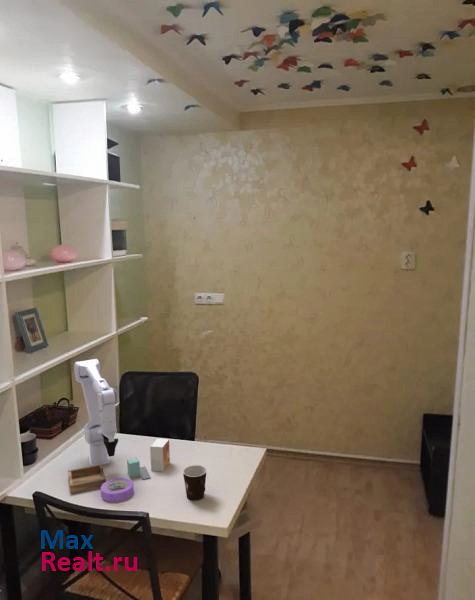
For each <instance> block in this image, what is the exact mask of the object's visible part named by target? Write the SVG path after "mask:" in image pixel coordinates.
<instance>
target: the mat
mask: <svg viewBox="0 0 475 600" xmlns="http://www.w3.org/2000/svg"><path fill="white" fill-rule="evenodd" d="M139 477H140V479H141V480H142V481H145V480H149V479H151V476H150V474H149V471H148V469H147V468H146V466H140V476H139Z"/></svg>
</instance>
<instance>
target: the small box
mask: <svg viewBox="0 0 475 600" xmlns="http://www.w3.org/2000/svg"><path fill="white" fill-rule="evenodd" d="M149 447H150V448H149V449H150V452H149V453H150V455H149V456H150V470H151V471H157V472H164V471H165V470H166V469H167V467H168V466H169V465H170V464H171V458H170V439H167V438H156V440H155V441H154V442H152V444H151V445H150V446H149Z"/></svg>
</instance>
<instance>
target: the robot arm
mask: <svg viewBox="0 0 475 600" xmlns="http://www.w3.org/2000/svg"><path fill="white" fill-rule="evenodd" d="M100 370H101V365H100V361H99V359H97V358H94V359H87V360H81V361H75V362H74V363H73V372H74V376H75V380H76V382H77V383H78V384H80V385H81V389H82V392H83V397H84V401H85V406H86V411H87V416H88V421H87V423H86V424H85V425H84V428H83V430H84V440H85V442H86V443H87V444H88V445H89V456H88V460H89V465H90V466H95V465H100V464H102V465H106V464H107V465H108V464H110V463H111V461H110V457H115V454H116V447H117V444H118V443H119V438H115V435H116V434H117V431H118V429H117V419H116V415H117V414H116V403H117V402H118V395H117V391H116V389H115V388H113V387H110V385H109V383H108V382H107V380H106V379H105V378H103V377H102V375H101V374H100Z"/></svg>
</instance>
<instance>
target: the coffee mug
mask: <svg viewBox="0 0 475 600" xmlns="http://www.w3.org/2000/svg"><path fill="white" fill-rule="evenodd" d="M182 475H183V482H184V487H185V494H186V498H187V500H189V501H191V502H198V501H201V500H203V499H204V498H205V491H206V479H207V468H206V467H205V466H203V465H199V464H193V465H188V466H186V467H185V468H184V469H183V470H182Z"/></svg>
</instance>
